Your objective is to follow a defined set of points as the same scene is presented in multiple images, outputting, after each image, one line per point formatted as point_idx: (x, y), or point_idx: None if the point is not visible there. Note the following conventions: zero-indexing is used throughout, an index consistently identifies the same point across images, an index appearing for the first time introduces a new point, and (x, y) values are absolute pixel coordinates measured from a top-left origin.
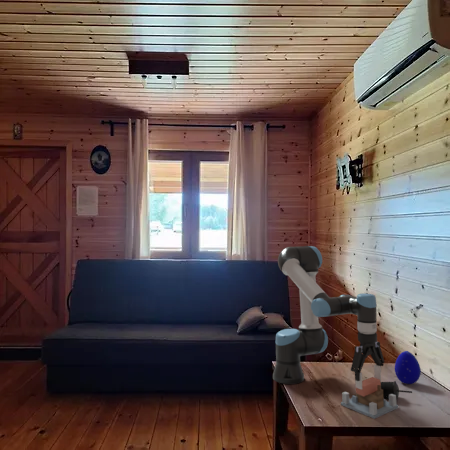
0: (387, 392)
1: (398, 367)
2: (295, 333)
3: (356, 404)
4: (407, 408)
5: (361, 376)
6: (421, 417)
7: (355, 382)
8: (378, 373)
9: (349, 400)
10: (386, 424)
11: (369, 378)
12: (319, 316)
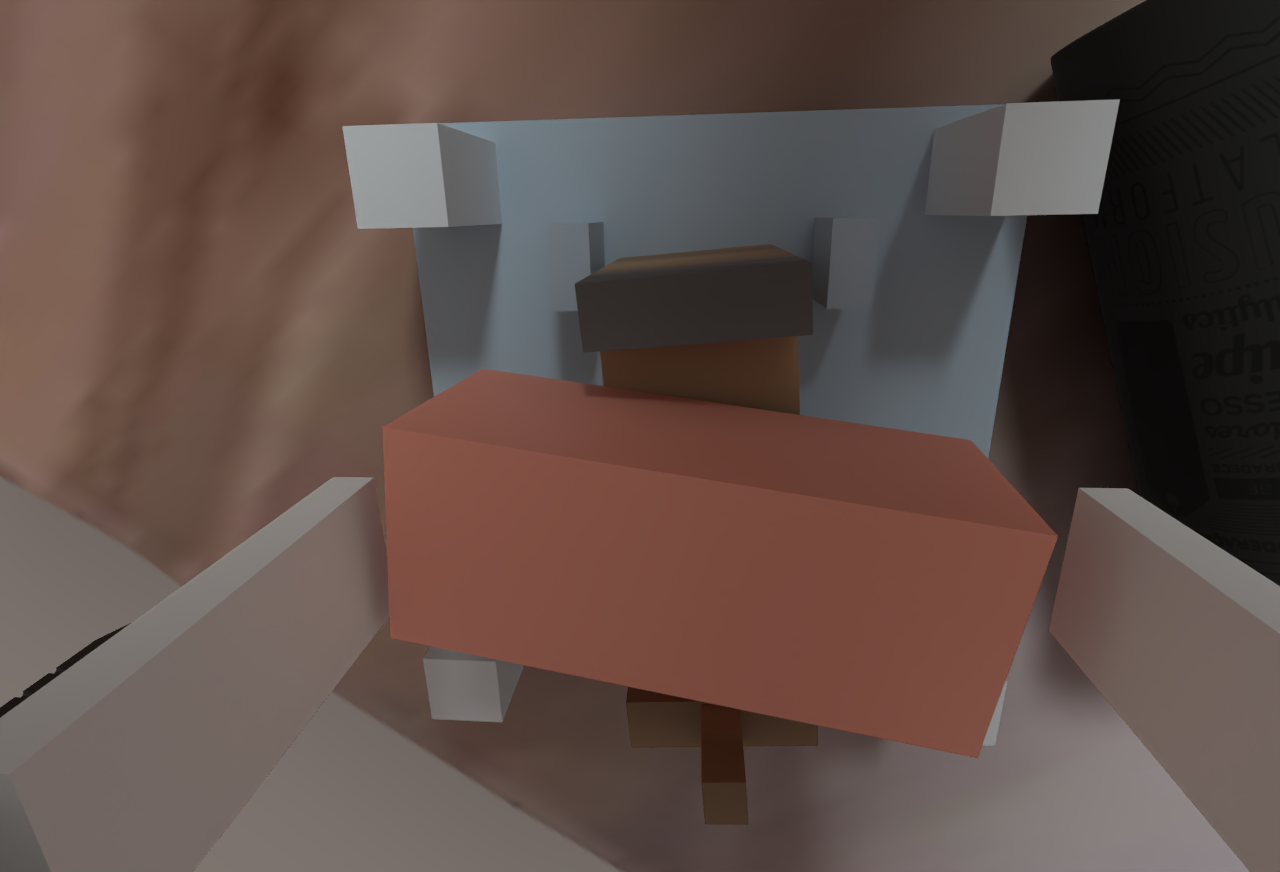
0: (1160, 497)
1: None
2: None
3: (543, 326)
4: (1008, 708)
5: (175, 853)
6: (889, 866)
7: (261, 529)
8: (1200, 758)
9: (571, 161)
10: (480, 746)
11: (895, 524)
12: None
